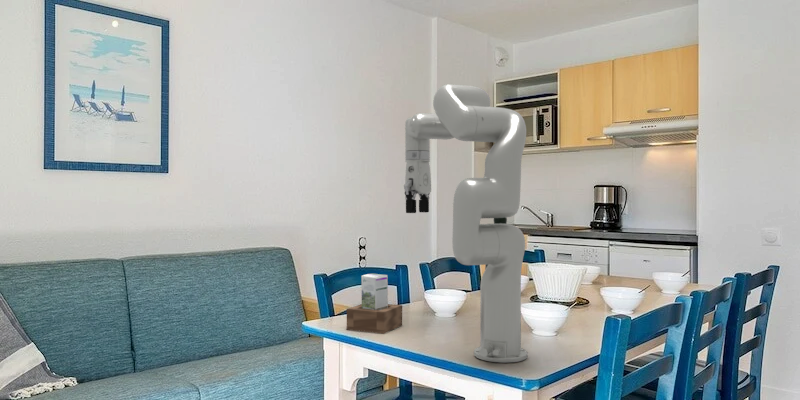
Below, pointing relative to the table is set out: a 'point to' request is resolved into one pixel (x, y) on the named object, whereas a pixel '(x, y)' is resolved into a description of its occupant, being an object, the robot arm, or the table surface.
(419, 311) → the table surface
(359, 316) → the socket block
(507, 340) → the robot arm
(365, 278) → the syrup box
